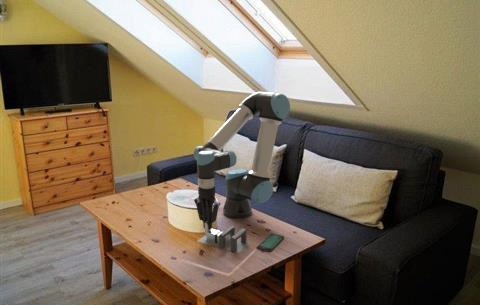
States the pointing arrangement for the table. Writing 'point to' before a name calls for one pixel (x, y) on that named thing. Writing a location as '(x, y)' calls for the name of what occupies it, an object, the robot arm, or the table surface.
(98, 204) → the table surface
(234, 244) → the grey angular piece
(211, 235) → the grey block
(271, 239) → the smartphone
